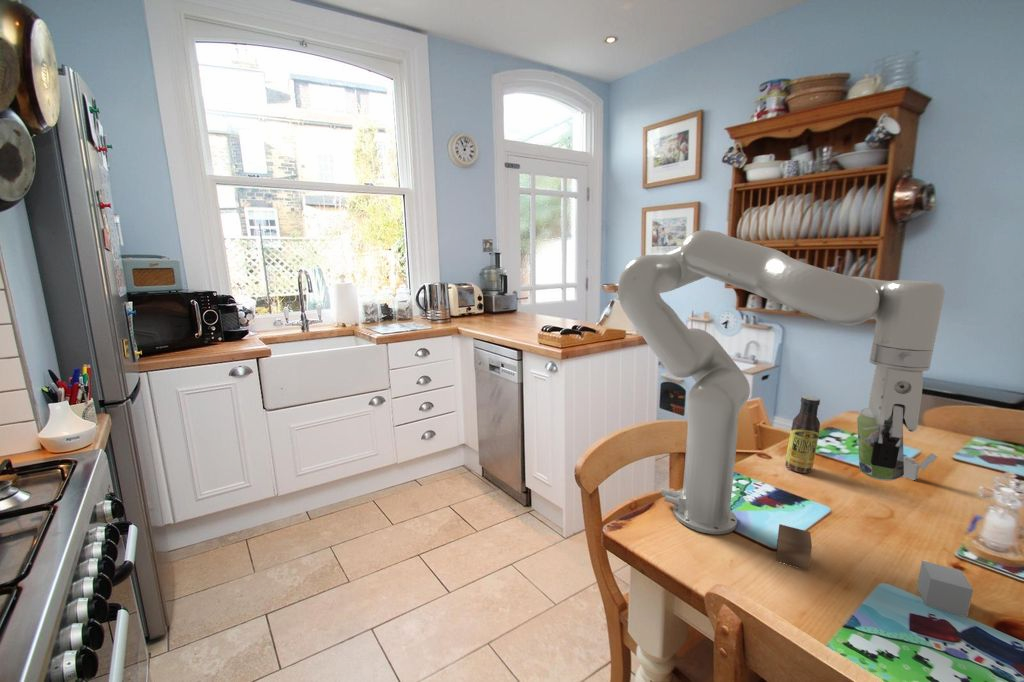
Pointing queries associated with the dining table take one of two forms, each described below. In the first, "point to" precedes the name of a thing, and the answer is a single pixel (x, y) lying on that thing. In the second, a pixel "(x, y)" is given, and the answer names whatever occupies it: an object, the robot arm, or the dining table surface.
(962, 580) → the slate grey block
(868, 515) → the dining table surface
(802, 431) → the sauce bottle
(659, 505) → the dining table surface
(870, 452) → the beverage can
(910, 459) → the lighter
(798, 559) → the walnut block
